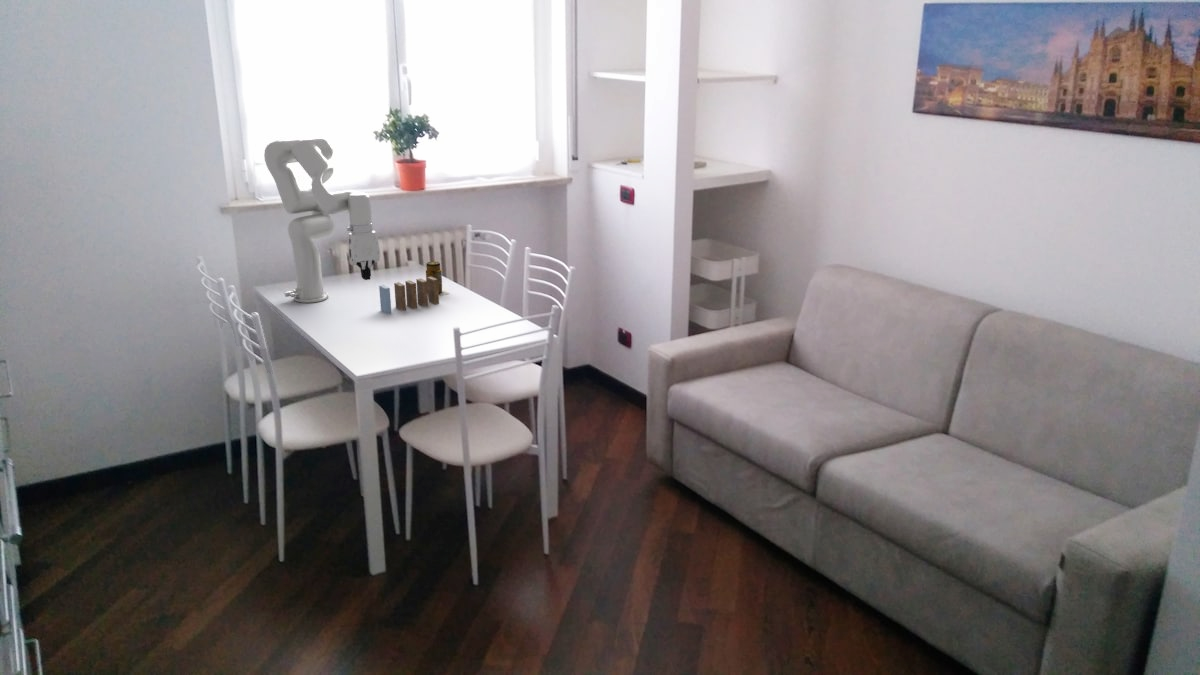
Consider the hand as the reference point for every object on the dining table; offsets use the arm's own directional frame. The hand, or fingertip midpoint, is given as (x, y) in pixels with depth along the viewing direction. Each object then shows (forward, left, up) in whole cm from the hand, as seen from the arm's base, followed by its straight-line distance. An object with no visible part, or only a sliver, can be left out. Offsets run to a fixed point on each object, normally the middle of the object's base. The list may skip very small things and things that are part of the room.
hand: (366, 279), depth 328 cm
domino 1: (+7, +1, -14) cm, 15 cm away
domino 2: (+13, +1, -14) cm, 19 cm away
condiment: (+33, +12, -14) cm, 38 cm away
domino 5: (+26, +1, -14) cm, 30 cm away
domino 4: (+22, +1, -14) cm, 26 cm away
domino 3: (+17, +1, -14) cm, 22 cm away
